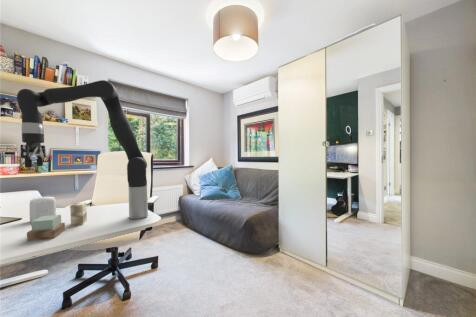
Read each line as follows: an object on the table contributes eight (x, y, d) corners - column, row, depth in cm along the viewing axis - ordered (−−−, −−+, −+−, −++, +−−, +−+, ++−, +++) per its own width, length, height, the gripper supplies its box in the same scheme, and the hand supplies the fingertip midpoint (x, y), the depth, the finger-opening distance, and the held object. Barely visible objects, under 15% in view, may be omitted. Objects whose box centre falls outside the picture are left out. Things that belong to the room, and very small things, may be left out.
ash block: (86, 221, 106) (86, 202, 106) (83, 224, 101) (82, 204, 101) (75, 222, 104) (74, 203, 104) (70, 225, 100) (70, 205, 99)
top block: (61, 223, 93) (60, 214, 93) (52, 229, 86) (52, 219, 86) (42, 225, 91) (41, 216, 90) (31, 231, 84) (31, 221, 84)
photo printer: (57, 217, 112) (56, 195, 112) (55, 219, 109) (54, 196, 108) (31, 220, 107) (30, 197, 106) (28, 223, 103) (27, 199, 103)
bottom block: (64, 231, 94) (64, 222, 94) (54, 239, 86) (54, 229, 85) (40, 233, 91) (40, 224, 91) (27, 242, 83) (26, 232, 82)
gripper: (33, 131, 92) (35, 167, 92) (51, 134, 105) (52, 165, 106) (11, 131, 89) (13, 168, 90) (32, 134, 103) (34, 165, 103)
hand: (34, 166), depth 98 cm, fingers open, 8 cm apart
